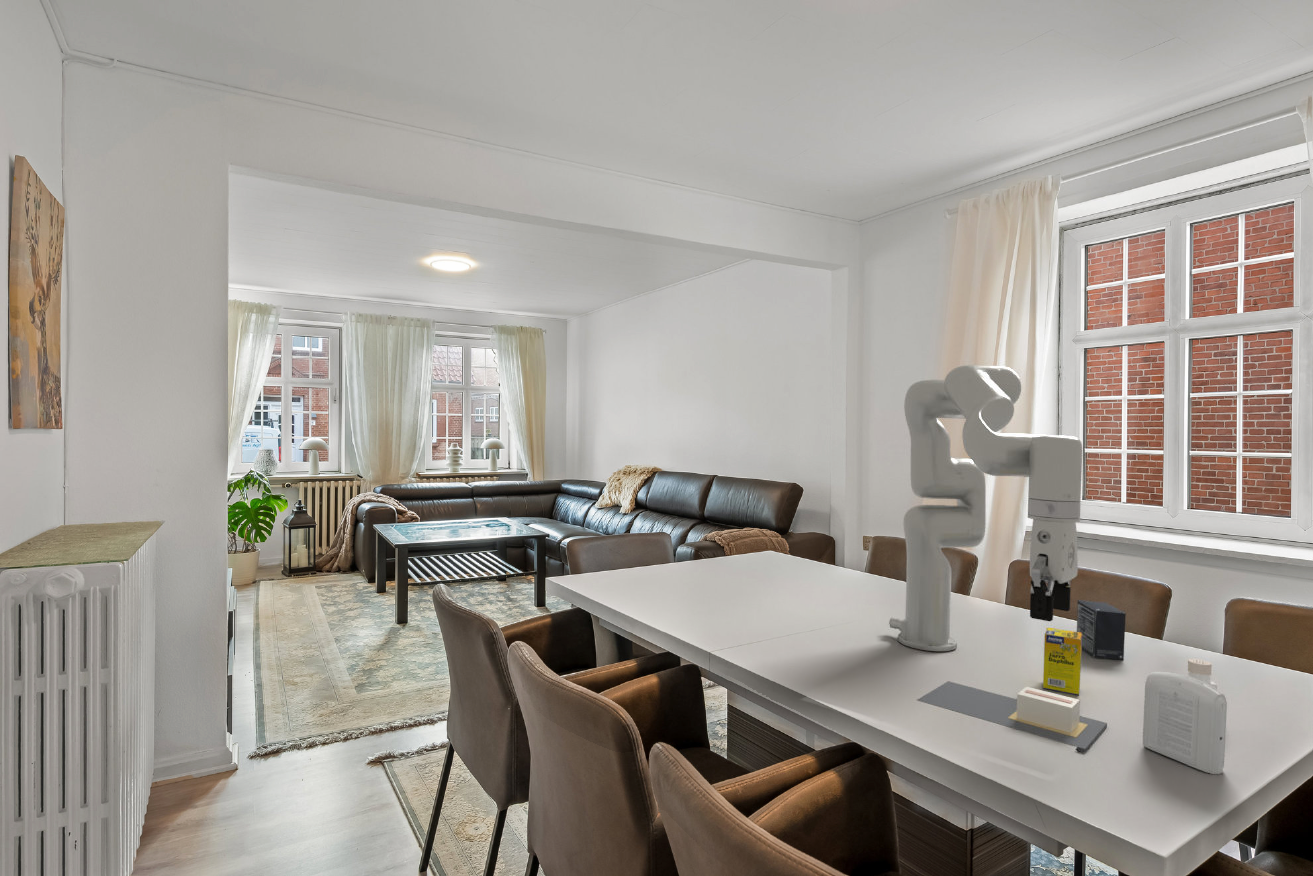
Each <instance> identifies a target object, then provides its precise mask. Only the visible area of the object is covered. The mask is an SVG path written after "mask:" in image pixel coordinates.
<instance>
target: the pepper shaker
mask: <svg viewBox="0 0 1313 876" xmlns="http://www.w3.org/2000/svg"><path fill="white" fill-rule="evenodd" d="M1187 672H1188V675H1187V676H1188V677H1191V678H1194V679H1197V680H1199V681H1202V682H1204V683H1206V684H1208V685H1210V686H1212V687H1213V688H1215V689H1217V690H1218V684H1216V683H1215V682H1213V681H1212V680H1211V676H1212V663H1211V662H1209V661H1206V660H1202V659H1197V658H1190V659H1188V660H1187Z"/></svg>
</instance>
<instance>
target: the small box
mask: <svg viewBox="0 0 1313 876" xmlns="http://www.w3.org/2000/svg"><path fill="white" fill-rule="evenodd" d="M1126 615H1127V613H1126V612H1125V611H1123V610H1121V609H1119V608H1117V607H1115V606H1113V605H1111V604H1109V603H1107V602H1101V601H1091V600H1081V599H1078V600H1077V617H1076V632H1080V633H1082V649H1081V650H1083V651H1084V652H1086V653H1087V654H1088V655H1089V656H1091V658H1094V659H1095V658H1097V659H1108V660H1117V661H1118V660H1121V661H1124V659H1125V639H1126V638H1125V637H1126V636H1125V635H1126Z"/></svg>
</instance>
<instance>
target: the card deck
mask: <svg viewBox="0 0 1313 876" xmlns="http://www.w3.org/2000/svg"><path fill="white" fill-rule="evenodd" d="M1016 699H1017V718H1018V719H1022V720H1026V721H1029V722H1033V723H1036V724H1040V725H1044V726H1047V727H1051V728H1054V729H1058V730H1062V731H1065V732H1069V733H1072V732H1073V730H1074V729H1075V728H1076V727H1077V726H1078V725H1079V716H1080V711H1081V710H1080V707H1081V704H1080V703H1081V700H1080V699H1077V698H1074V697H1070V696H1065V695H1063V694H1059V693H1053V692H1049V691H1047V690H1041V689H1037V688H1033V687H1029V686H1025V687H1024V688H1023V689H1021V690H1020V691H1019V692H1018V693H1017V694H1016Z"/></svg>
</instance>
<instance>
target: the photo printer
mask: <svg viewBox="0 0 1313 876" xmlns="http://www.w3.org/2000/svg"><path fill="white" fill-rule="evenodd" d="M1143 700H1144V701H1143V703H1144V705H1143V726H1142V745H1143V747H1146V748H1147V749H1149V750H1151V751H1153V752H1155V753H1158V754H1159V755H1163V756H1166V757H1167V758H1170V759H1173V760H1175V761H1178V762H1180V763H1183V764H1185V765H1186V766H1189V767H1192V768H1195V769H1197V770H1199V771H1202V772H1205V773H1207V774H1209V773H1210V775H1221V774H1222V773H1223V772H1224V771H1223V770H1224V768H1225V757H1226V755H1225V753H1226V735H1227V734H1226V732H1227V714H1228V713H1227V709H1228V706H1227V705H1228V702H1227V698H1226V696H1225V694H1224V693H1222V692H1221V691H1220V690H1218V688H1217V689H1215V688H1213V687H1212V686H1210V685H1208V684H1206V683H1204V682H1202V681H1199V680H1197V679H1194V678H1191V677H1188V675H1185V674H1180V673H1175V672H1167V671H1165V672H1164V671H1154V672H1149V674H1148V675H1147V677H1146V681H1145V685H1144V699H1143Z"/></svg>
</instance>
